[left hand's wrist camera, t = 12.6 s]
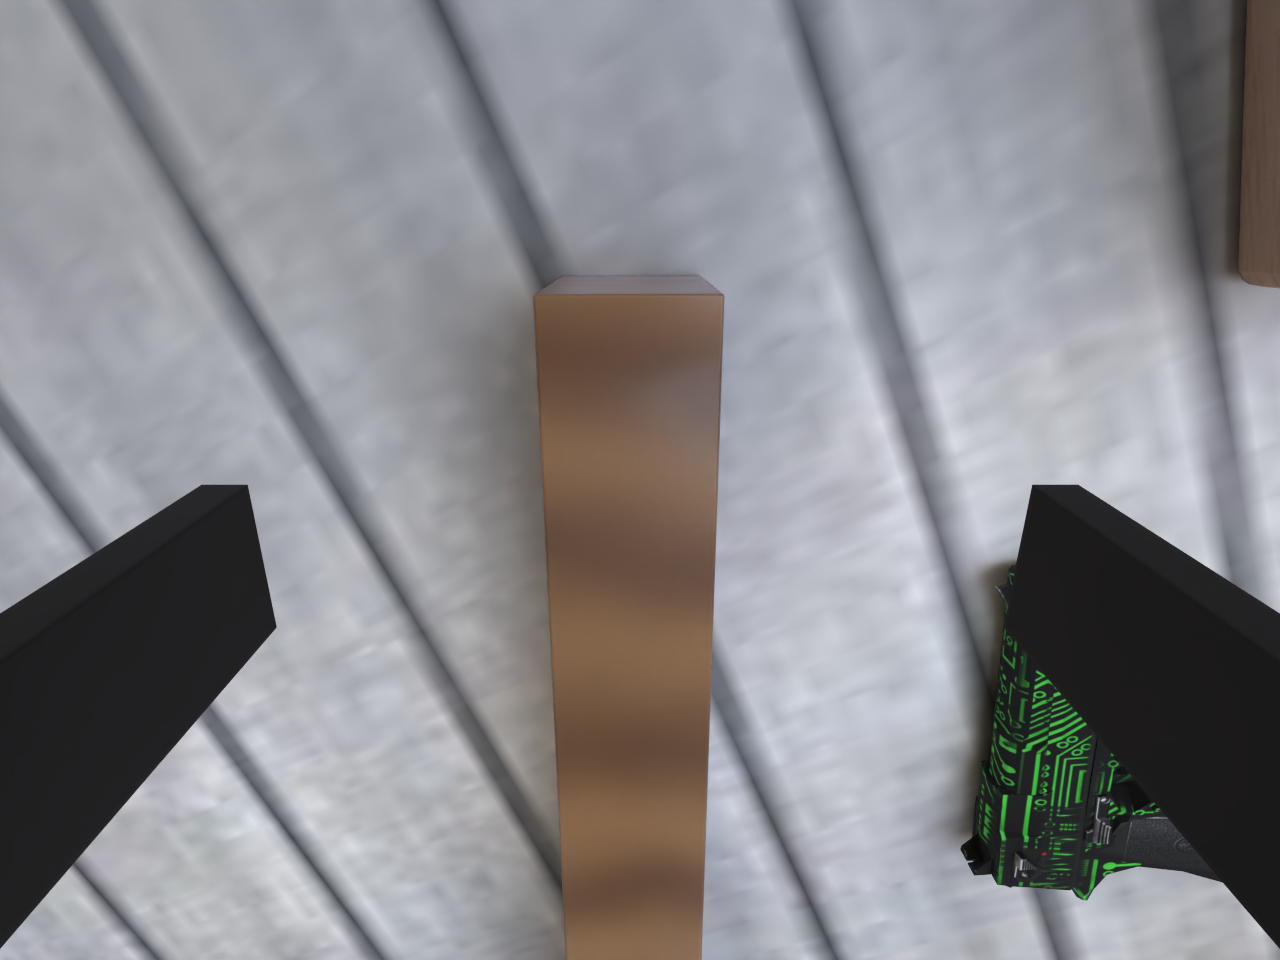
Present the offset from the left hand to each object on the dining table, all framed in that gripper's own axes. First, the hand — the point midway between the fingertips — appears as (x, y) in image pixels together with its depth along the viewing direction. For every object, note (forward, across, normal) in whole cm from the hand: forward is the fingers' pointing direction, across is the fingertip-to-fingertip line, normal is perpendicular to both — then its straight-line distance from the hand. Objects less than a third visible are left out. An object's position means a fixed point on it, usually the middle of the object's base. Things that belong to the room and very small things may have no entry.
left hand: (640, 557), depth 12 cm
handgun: (+15, +21, -16) cm, 31 cm away
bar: (+15, 0, -23) cm, 27 cm away
